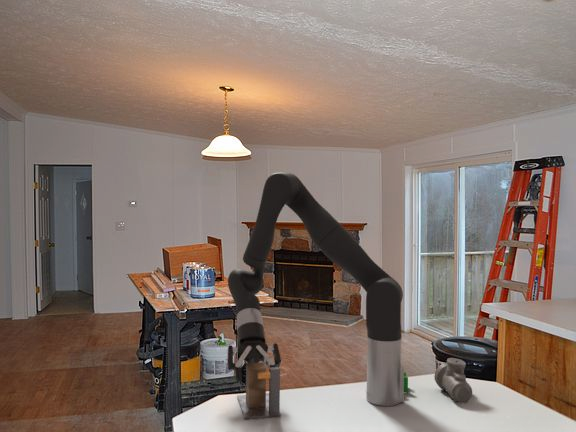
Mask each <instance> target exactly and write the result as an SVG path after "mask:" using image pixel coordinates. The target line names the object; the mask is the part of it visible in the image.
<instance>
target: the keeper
mask: <svg viewBox="0 0 576 432" xmlns="http://www.w3.org/2000/svg"><path fill="white" fill-rule="evenodd" d="M264 378H266V379H268V392H266V406H260V407H248V405H247V403H246V394H241V395H237V396H236V397H237V401H238V404H239V407H240V411H241V412H242V416H243V418H244V420H245V421H247V420H258V419H259V420H260V419H270V418H281V412H280V405H281V404H280V402H281V400H280V399H281V395H280V394H281V393H280V391H281V386H280V385H281V368H280V366H279V367H271V368H268V371H266V372H258V379H264Z"/></svg>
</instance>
